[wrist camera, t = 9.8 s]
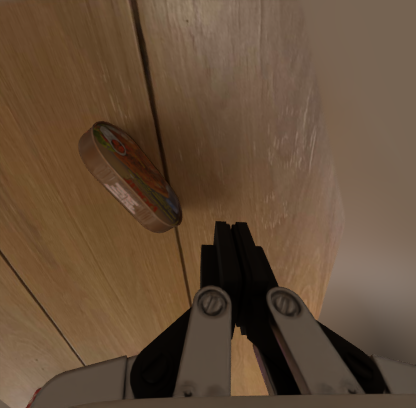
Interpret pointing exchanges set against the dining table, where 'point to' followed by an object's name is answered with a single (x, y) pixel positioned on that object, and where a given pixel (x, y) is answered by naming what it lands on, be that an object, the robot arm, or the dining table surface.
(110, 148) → the tin
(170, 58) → the dining table surface
